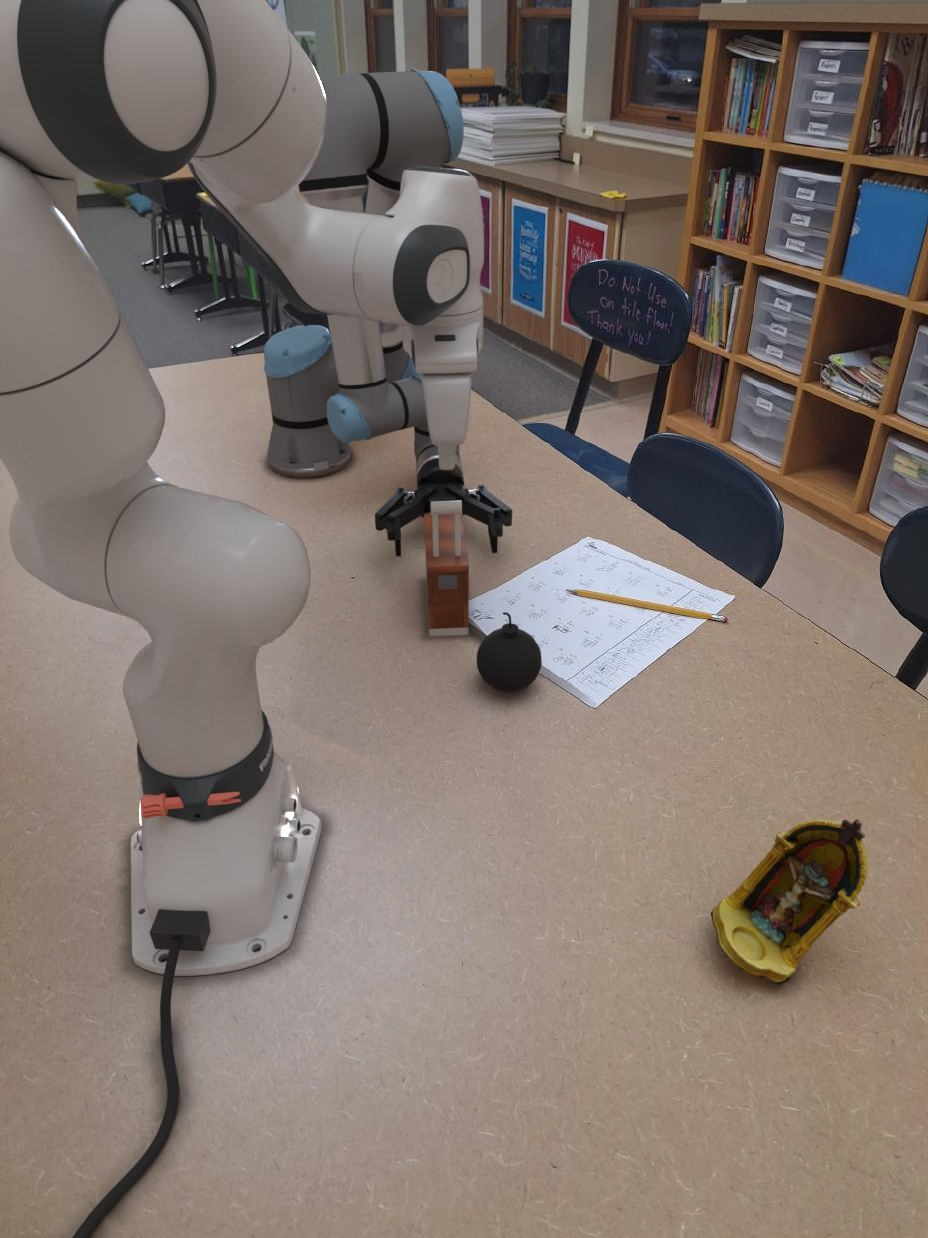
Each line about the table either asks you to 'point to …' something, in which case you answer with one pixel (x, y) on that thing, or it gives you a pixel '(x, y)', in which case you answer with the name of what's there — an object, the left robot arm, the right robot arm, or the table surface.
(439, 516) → the lid
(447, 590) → the chest
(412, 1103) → the table surface
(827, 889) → the shrine
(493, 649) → the bomb
